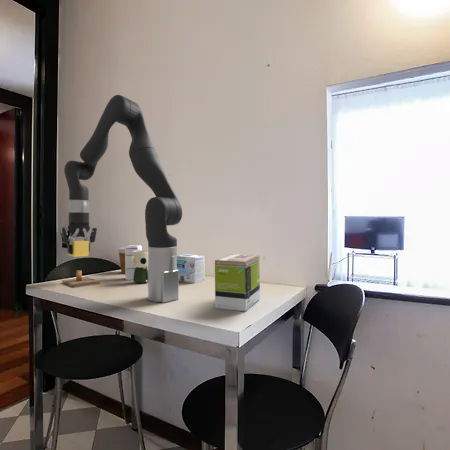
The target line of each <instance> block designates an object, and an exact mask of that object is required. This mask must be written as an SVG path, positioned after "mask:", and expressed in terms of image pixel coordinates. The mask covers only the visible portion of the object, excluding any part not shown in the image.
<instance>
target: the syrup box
mask: <svg viewBox="0 0 450 450" xmlns="http://www.w3.org/2000/svg"><path fill="white" fill-rule="evenodd" d="M124 247H125V274H124V275H125V281H133V279H134V271H135V268H136V267H133V266H132V265H131V257H132V251H136V250H143V246H142V245H141V244H140V245H139V244H132V245H127V246H124Z"/></svg>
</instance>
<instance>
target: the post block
mask: <svg viewBox="0 0 450 450" xmlns="http://www.w3.org/2000/svg"><path fill="white" fill-rule="evenodd" d="M82 273H83V272H82V270H80V269H79V270H76V271H75V275H76V276H75V278H71V279H63V280H62V282H63V283H62V284H64V283H66V284H65V285H67V284H68V285H67V286H69V285H70V287H72V286H73V287H72V288H74V287H75V288H80V286H81V287H86V286H93V285H94V286H95V285H99V284H101V281H100V280H98V279H94V278H91V277H89V276H87V277H86V276H85V277H82V276H83V274H82Z"/></svg>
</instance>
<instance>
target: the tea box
mask: <svg viewBox="0 0 450 450" xmlns="http://www.w3.org/2000/svg"><path fill="white" fill-rule="evenodd" d="M260 276H261V275H260V255H255V254H236V253H235V254H230V255H226V256H223V257H220V258H217V259H214V305H215V308H216V309H221V310H222V309H223V310H230V311H232V310H233V311H237V312H239V311H240V312H247V310H248V309H250V308H251V307H252V306H254V305H255V303H257V302H258V301H259V300H260V299H261V289H260V288H261V287H260V286H261V282H260V281H261V279H260V278H261V277H260Z"/></svg>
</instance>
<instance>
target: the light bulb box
mask: <svg viewBox="0 0 450 450" xmlns="http://www.w3.org/2000/svg"><path fill="white" fill-rule="evenodd" d="M205 259H206V258H205V255H199V254H198V255H197V254H188V253H187V254H186V253H184V254H179V255H178V254H177V270H178V272H179V273H178V282H186V283H191V284H199V283H201V282H205V276H206V275H205V272H206V269H205V267H206V266H205V263H206V262H205V261H206V260H205Z"/></svg>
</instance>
